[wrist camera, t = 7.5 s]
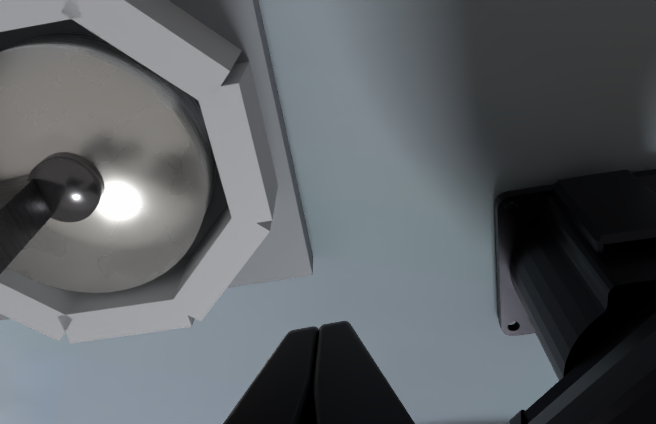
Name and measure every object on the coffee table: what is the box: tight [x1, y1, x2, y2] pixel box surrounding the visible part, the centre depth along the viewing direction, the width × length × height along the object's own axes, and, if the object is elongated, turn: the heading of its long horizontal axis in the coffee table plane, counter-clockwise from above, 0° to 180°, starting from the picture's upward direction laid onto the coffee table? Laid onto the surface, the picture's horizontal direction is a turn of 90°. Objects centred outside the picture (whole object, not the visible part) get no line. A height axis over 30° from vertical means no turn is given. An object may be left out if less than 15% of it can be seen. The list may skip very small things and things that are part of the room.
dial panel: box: [0, 0, 313, 343], centre depth 18 cm, size 12×12×4 cm
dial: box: [0, 32, 216, 293], centre depth 16 cm, size 8×8×6 cm
